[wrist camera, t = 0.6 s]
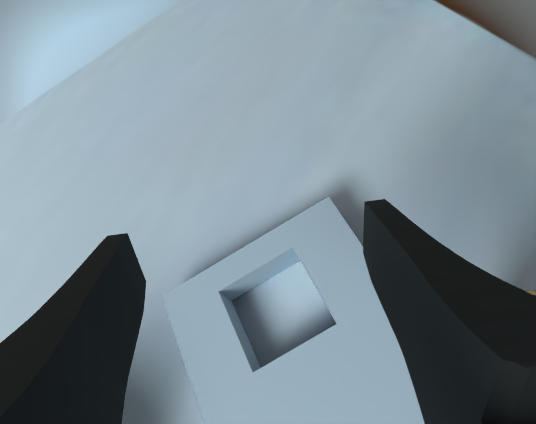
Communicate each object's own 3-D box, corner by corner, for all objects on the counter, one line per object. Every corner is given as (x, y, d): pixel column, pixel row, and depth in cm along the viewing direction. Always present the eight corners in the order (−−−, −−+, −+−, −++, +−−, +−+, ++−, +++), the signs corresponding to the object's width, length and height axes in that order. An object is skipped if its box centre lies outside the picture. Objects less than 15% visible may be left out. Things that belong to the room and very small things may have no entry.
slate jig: (561, 547, 21) (577, 560, 19) (312, 681, 21) (300, 709, 19) (334, 211, 32) (328, 196, 30) (177, 304, 33) (161, 296, 31)
